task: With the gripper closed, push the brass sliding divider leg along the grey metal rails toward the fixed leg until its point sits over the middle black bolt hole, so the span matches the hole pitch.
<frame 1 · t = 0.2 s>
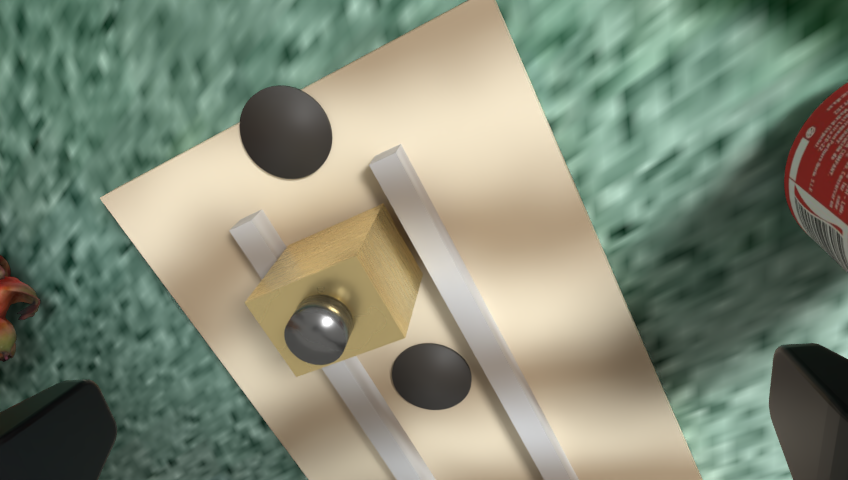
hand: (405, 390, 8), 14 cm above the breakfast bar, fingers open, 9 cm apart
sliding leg: (338, 292, 20), point 4 cm above the breakfast bar, slide at 0.0 cm
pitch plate: (445, 379, 25), on the breakfast bar
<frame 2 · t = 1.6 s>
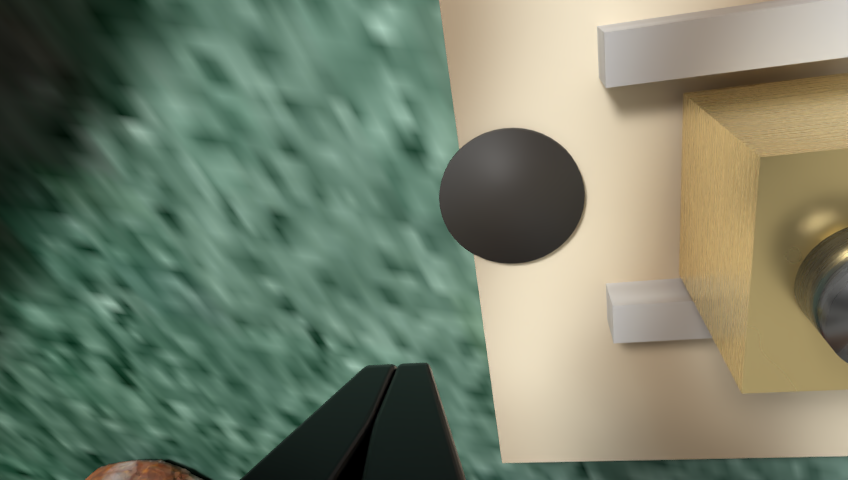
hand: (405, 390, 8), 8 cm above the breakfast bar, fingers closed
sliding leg: (811, 230, 10), point 4 cm above the breakfast bar, slide at 0.0 cm
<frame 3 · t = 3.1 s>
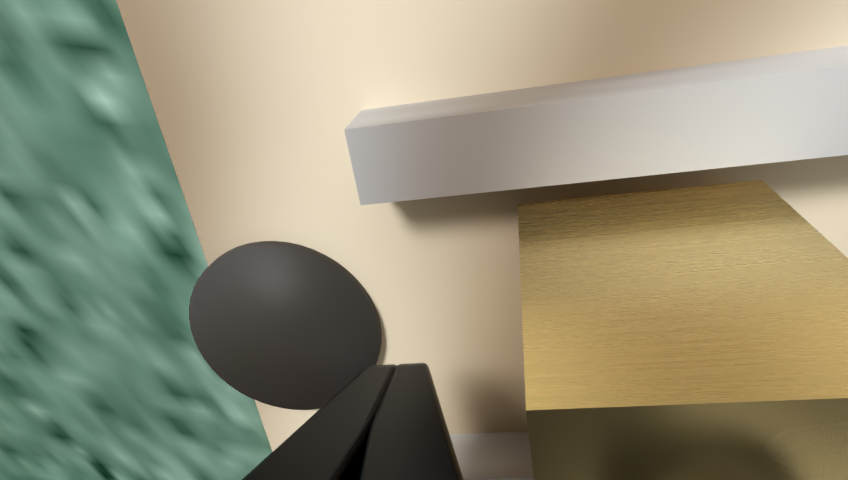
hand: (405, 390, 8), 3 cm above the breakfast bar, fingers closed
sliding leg: (679, 445, 6), point 4 cm above the breakfast bar, slide at 0.5 cm, touching gripper
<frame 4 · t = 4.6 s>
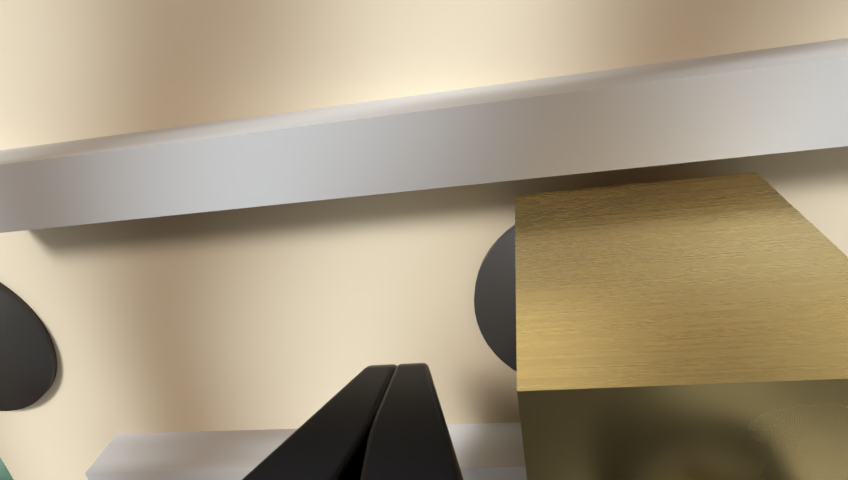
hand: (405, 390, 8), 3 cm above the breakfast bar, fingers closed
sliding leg: (671, 431, 7), point 4 cm above the breakfast bar, slide at 6.7 cm, touching gripper
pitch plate: (635, 263, 10), on the breakfast bar
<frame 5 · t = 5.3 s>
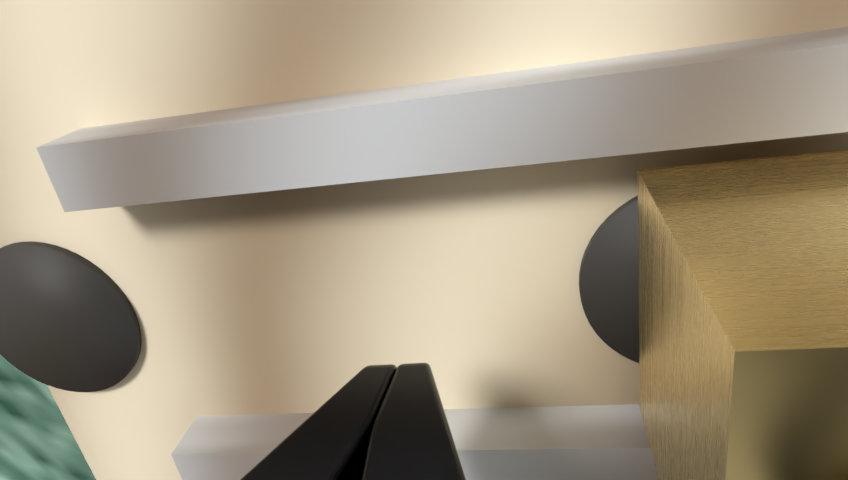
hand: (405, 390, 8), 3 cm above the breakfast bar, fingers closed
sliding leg: (824, 405, 6), point 4 cm above the breakfast bar, slide at 6.7 cm
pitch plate: (737, 244, 10), on the breakfast bar
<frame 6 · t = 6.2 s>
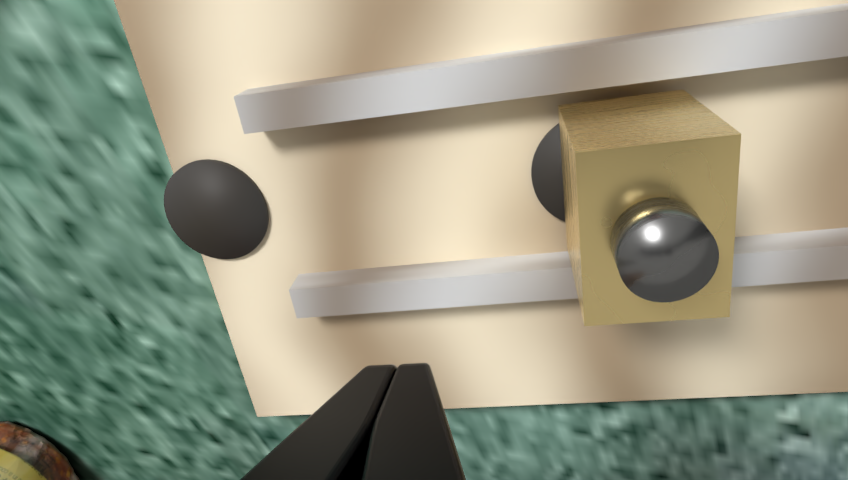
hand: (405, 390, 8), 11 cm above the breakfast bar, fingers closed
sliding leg: (639, 207, 14), point 4 cm above the breakfast bar, slide at 6.7 cm
sauce bottle: (27, 462, 26), on the breakfast bar
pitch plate: (622, 154, 17), on the breakfast bar
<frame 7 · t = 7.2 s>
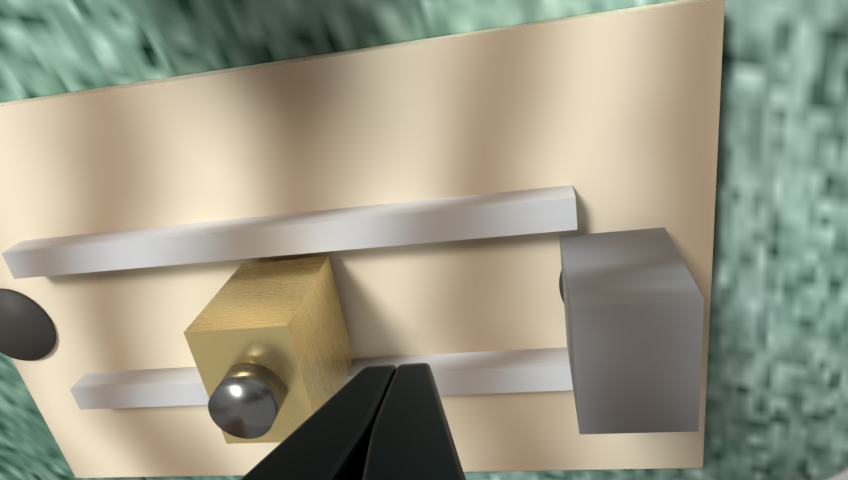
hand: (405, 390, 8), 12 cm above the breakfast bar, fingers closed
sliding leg: (275, 353, 18), point 4 cm above the breakfast bar, slide at 6.7 cm
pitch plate: (320, 288, 22), on the breakfast bar
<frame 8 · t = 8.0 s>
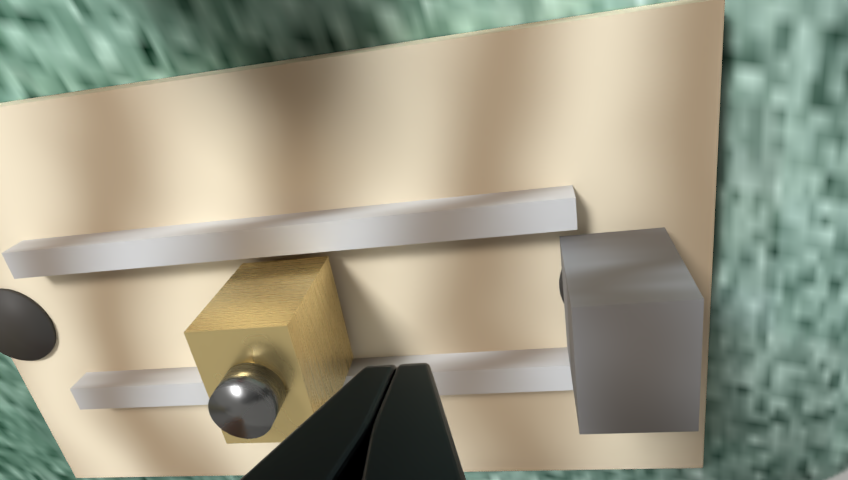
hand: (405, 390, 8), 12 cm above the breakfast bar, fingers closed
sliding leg: (275, 353, 18), point 4 cm above the breakfast bar, slide at 6.7 cm
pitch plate: (320, 288, 22), on the breakfast bar
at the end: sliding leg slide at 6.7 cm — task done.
